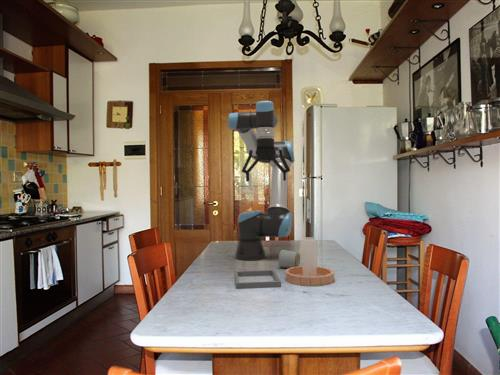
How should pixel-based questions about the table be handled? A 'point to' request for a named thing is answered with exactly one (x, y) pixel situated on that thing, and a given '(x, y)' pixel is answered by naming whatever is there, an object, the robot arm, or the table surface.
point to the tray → (257, 284)
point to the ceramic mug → (289, 259)
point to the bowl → (296, 277)
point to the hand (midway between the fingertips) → (266, 189)
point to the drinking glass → (309, 256)
